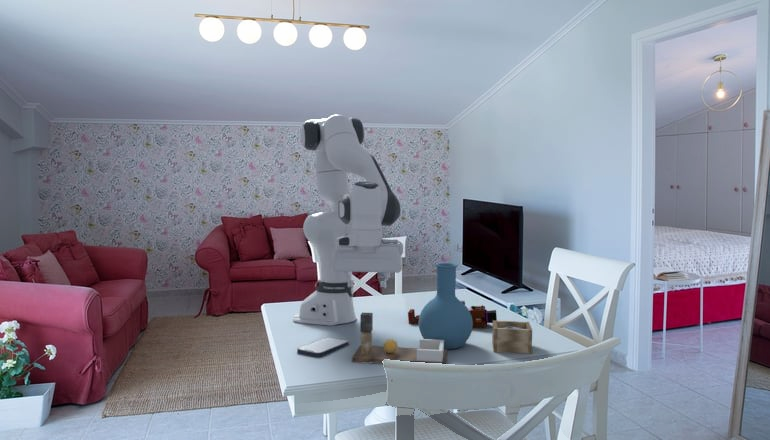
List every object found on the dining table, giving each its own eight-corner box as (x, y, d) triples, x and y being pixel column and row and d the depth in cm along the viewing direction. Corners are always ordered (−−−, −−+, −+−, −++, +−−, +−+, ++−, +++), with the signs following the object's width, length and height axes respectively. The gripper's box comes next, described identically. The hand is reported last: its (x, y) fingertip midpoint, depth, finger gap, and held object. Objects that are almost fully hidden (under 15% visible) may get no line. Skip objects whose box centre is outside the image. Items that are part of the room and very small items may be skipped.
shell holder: (493, 351, 173) (494, 328, 172) (492, 342, 183) (492, 320, 182) (531, 353, 171) (532, 330, 171) (528, 344, 181) (528, 321, 181)
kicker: (359, 354, 165) (359, 316, 164) (363, 348, 171) (363, 311, 170) (369, 354, 165) (370, 316, 164) (373, 348, 171) (373, 311, 170)
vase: (471, 338, 187) (472, 261, 185) (473, 354, 171) (474, 269, 169) (419, 336, 189) (420, 259, 187) (416, 351, 173) (417, 268, 171)
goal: (416, 360, 160) (416, 349, 160) (419, 348, 171) (420, 338, 171) (442, 361, 159) (442, 351, 159) (443, 350, 170) (444, 339, 170)
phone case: (327, 341, 184) (295, 354, 170) (327, 336, 184) (295, 348, 170) (350, 346, 180) (319, 359, 166) (350, 341, 180) (319, 353, 166)
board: (352, 361, 163) (352, 357, 163) (359, 349, 174) (360, 345, 174) (445, 366, 159) (445, 362, 159) (447, 353, 171) (447, 349, 171)
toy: (414, 301, 220) (496, 297, 214) (416, 319, 221) (497, 316, 214) (402, 317, 195) (494, 314, 188) (404, 338, 195) (496, 335, 189)
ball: (382, 354, 165) (382, 340, 165) (384, 350, 169) (384, 337, 169) (396, 355, 165) (396, 341, 164) (398, 351, 169) (398, 337, 168)
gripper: (404, 238, 167) (404, 286, 168) (334, 237, 170) (335, 284, 171) (402, 240, 161) (401, 290, 162) (329, 239, 164) (329, 288, 165)
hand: (366, 287), depth 166 cm, fingers open, 8 cm apart
